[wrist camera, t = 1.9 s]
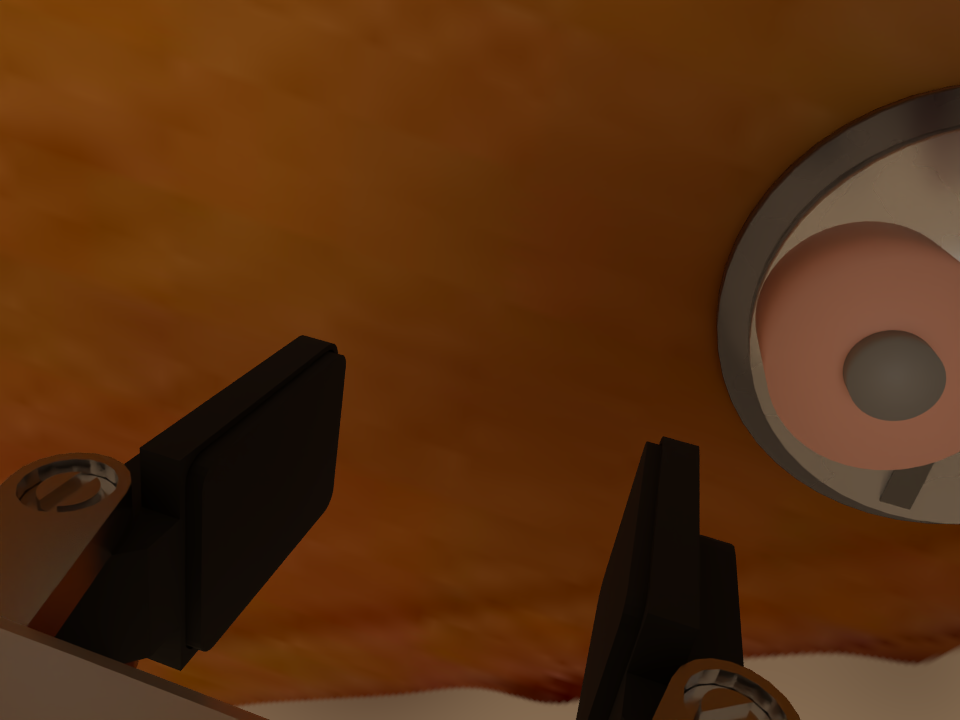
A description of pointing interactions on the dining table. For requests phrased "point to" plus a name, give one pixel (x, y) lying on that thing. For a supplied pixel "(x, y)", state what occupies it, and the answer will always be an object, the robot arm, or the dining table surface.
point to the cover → (865, 345)
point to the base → (774, 219)
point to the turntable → (921, 207)
